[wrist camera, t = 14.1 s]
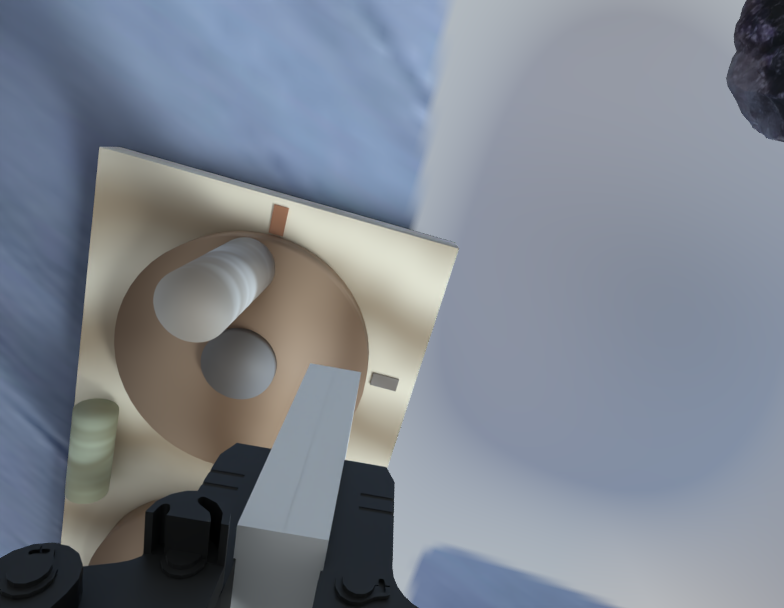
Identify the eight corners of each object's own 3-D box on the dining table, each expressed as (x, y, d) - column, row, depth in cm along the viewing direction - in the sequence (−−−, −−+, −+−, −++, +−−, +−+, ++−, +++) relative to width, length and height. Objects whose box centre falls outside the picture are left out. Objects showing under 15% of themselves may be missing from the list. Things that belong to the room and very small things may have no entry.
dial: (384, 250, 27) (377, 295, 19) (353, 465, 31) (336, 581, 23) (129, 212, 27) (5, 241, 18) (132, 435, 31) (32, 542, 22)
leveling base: (317, 667, 40) (308, 728, 36) (69, 612, 38) (28, 668, 34) (455, 242, 29) (464, 257, 25) (119, 146, 28) (70, 146, 24)
